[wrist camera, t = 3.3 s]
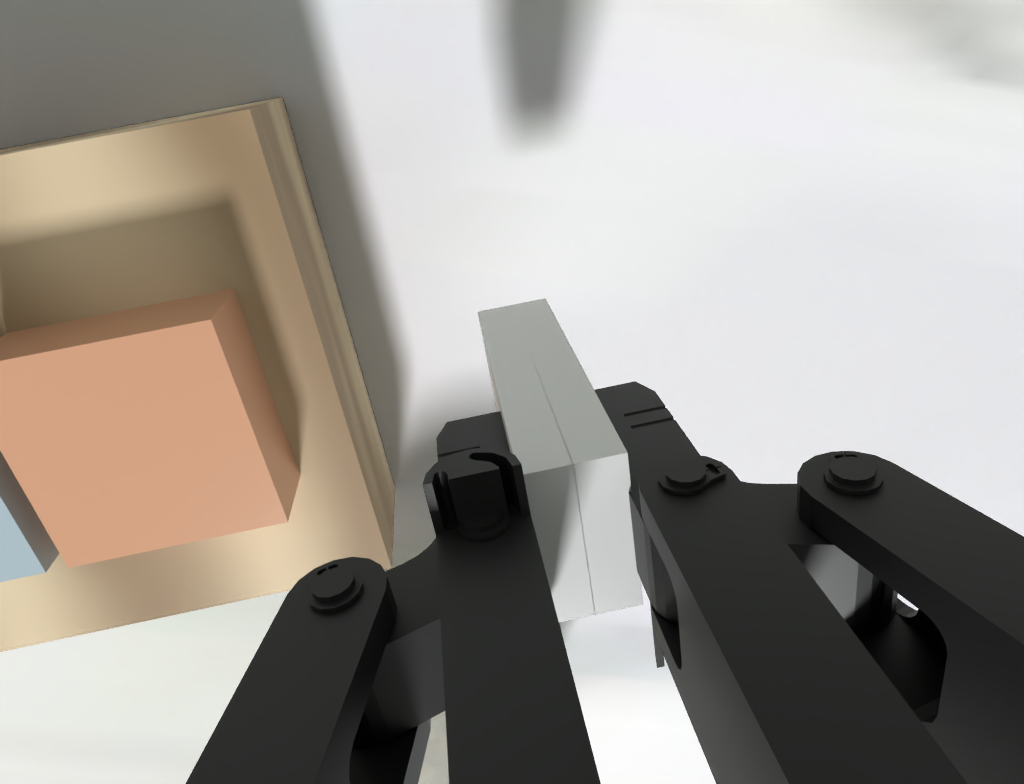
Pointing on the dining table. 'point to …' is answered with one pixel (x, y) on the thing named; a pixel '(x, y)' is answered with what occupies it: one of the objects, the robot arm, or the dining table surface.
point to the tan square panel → (182, 274)
